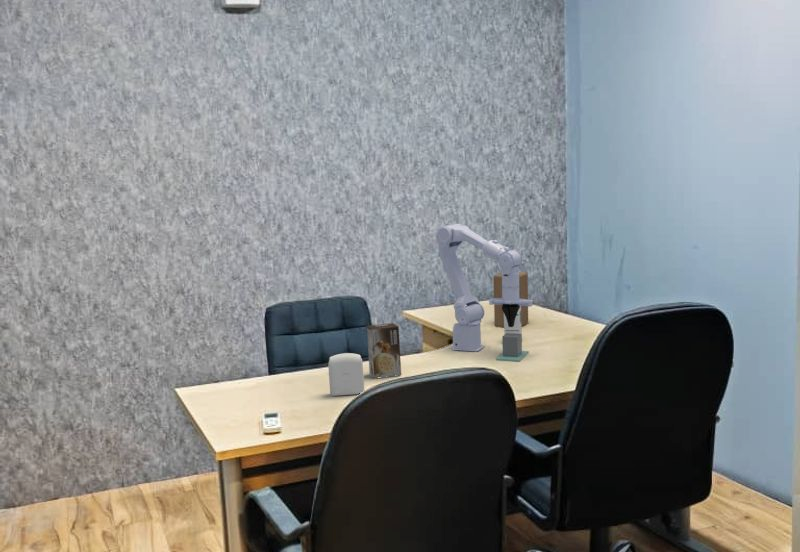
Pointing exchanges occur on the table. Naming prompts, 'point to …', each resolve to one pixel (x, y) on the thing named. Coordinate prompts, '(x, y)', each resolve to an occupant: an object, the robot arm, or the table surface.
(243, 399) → the table surface
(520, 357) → the teal base stand
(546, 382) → the table surface
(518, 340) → the dark grey block
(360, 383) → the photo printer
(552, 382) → the table surface
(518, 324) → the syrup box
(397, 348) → the coffee box
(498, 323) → the wooden block
